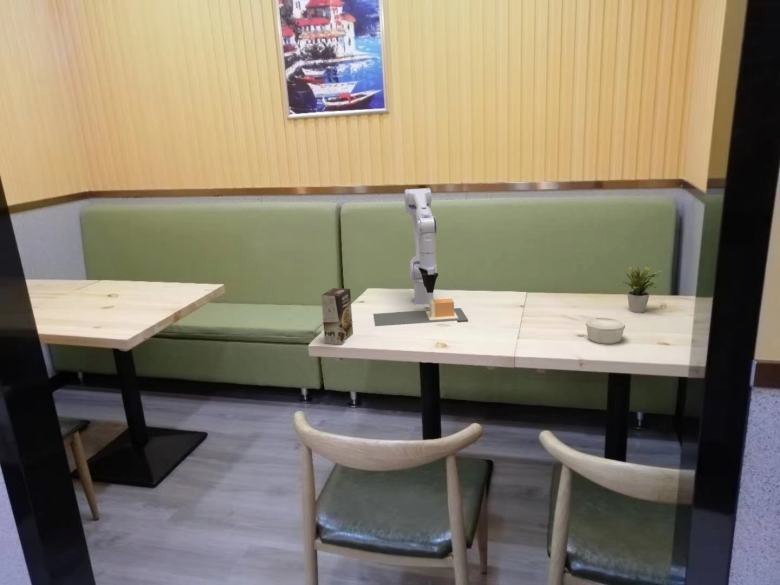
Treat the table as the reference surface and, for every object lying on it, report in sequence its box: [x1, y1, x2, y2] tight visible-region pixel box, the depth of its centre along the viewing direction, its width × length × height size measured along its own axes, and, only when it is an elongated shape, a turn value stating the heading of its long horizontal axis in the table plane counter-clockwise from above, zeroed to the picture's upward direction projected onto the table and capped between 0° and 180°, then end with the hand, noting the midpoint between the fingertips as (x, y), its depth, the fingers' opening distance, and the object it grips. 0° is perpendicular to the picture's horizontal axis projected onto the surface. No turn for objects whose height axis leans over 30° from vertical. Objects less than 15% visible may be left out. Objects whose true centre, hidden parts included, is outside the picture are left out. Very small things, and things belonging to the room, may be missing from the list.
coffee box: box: [320, 287, 354, 346], centre depth 187 cm, size 9×6×16 cm
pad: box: [426, 311, 458, 321], centre depth 206 cm, size 10×10×1 cm
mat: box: [372, 307, 469, 327], centre depth 206 cm, size 14×32×1 cm, turn 94°
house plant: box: [619, 264, 662, 314], centre depth 199 cm, size 14×14×16 cm
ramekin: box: [585, 317, 626, 345], centre depth 177 cm, size 11×11×5 cm
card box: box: [429, 298, 455, 317], centre depth 206 cm, size 8×5×5 cm, turn 94°
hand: (428, 289), depth 207 cm, fingers open, 7 cm apart
